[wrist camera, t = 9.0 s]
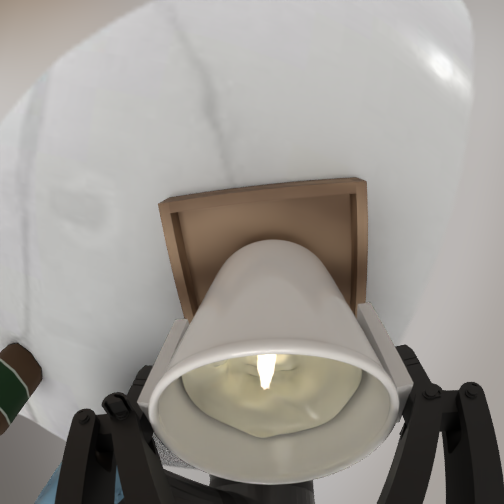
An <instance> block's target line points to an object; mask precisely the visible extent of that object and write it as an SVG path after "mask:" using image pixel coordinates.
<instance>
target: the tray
mask: <svg viewBox="0 0 504 504" xmlns="http://www.w3.org/2000/svg"><path fill="white" fill-rule="evenodd" d="M158 207H159V212H160V217H161V222H162V227H163V232H164V236H165V241H166V246H167V250H168V254H169V259H170V263H171V267H172V272H173V276H174V280H175V284H176V288H177V292H178V296H179V299H180V303H181V307H182V311H183V314H184V318H185V319H188V322H189V325H190V323H191V321H192V319H193V317H194V315H195V313H196V311H197V310H198V308H199V306H200V304H201V302H202V300H203V298H204V296H205V295H206V293H207V291H208V289H209V287H210V285H211V284H212V282H213V280H214V278H215V276H216V275H217V273H218V271H219V270H220V268H221V267H222V265H223V264H224V263H225V261H226V260H227V259H228V258H229V257H230V256H231V255H232V254H233V253H235V252H236V251H237V250H239V249H241V248H242V247H244V246H246V245H249V244H251V243H254V242H258V241H262V240H285V241H290V242H293V243H296V244H299V245H301V246H303V247H305V248H307V249H308V250H310V251H311V252H312V253H314V254H315V255H316V256H317V257H318V258H319V259H320V260H321V261H322V263H323V264H324V265H325V267H326V268H327V270H328V271H329V273H330V274H331V276H332V278H333V279H334V281H335V283H336V284H337V286H338V288H339V289H340V291H341V293H342V294H343V296H344V298H345V299H346V301H347V303H348V305H349V306H350V308H351V310H352V312H353V313H354V315H355V317H356V319H357V307H358V304H362V303H365V300H366V283H367V256H368V209H367V182H366V181H364V180H362V179H359V178H356V177H353V178H336V179H322V180H309V181H297V182H287V183H276V184H267V185H257V186H249V187H240V188H232V189H224V190H217V191H210V192H203V193H196V194H189V195H183V196H176V197H170V198H168V199H166V200H164V201H162V202H160V203H159V204H158Z"/></svg>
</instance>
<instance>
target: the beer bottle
mask: <svg viewBox="0 0 504 504" xmlns="http://www.w3.org/2000/svg"><path fill="white" fill-rule="evenodd" d="M41 380H42V373H41V367H40V366H39V364H38V363H37V361H36V360H35V359H34V357H33V356H32V354H31V353H30V352H29V351H27V350H26V349H25V348H23V347H22V346H21V345H20V344H18V343H16V344H11V345H8V346H7V347H6V348H4V349H3V350H2V351H1V352H0V435H2V434H3V433H4V432H5V431H6V430H7V428H8V427H9V426H10V424H11V423H12V422H13V420H14V419H15V417H16V416H17V414H18V413H19V412H20V410H21V409H22V407H23V406H24V405H25V403H26V402H27V400H28V399H29V398H30V396H31V395H32V394H33V392H34V391H35V390H36V388H37V387H38V385H39V384H40V382H41Z"/></svg>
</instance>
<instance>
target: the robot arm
mask: <svg viewBox="0 0 504 504" xmlns="http://www.w3.org/2000/svg"><path fill="white" fill-rule="evenodd" d="M357 320H358V322H359V324H360V326H361V327H362V329H363V331H364V333H365V335H366V336H367V338H368V340H369V342H370V344H371V346H372V347H373V349H374V351H375V353H376V355H377V357H378V359H379V360H380V362H381V364H382V366H383V368H384V370H385V371H386V372H387V374H388V375H389V376H390V378H391V379H392V381H393V383H394V384H395V387H396V389H397V392H398V396H399V414H398V418H397V421H396V423H397V422H400V419H401V416H402V415H403V418H404V420H405V423H404V425H403V427H402V430H401V432H400V435H401V436H400V439H399V443H398V446H397V449H396V452H395V456H394V459H393V462H392V465H391V468H390V471H389V474H388V476H387V479H386V482H385V484H384V487H383V489H382V492H381V495H380V497H379V500H378V502H377V504H423V501H424V497H425V494H426V490H427V487H428V483H429V479H430V475H431V471H432V467H433V462H434V458H435V453H436V448H437V442H438V437H439V432H441V431H442V437H443V447H444V459H445V476H446V504H504V482H503V474H502V467H501V461H500V455H499V450H498V445H497V440H496V435H495V431H494V427H493V423H492V419H491V415H490V411H489V408H488V404H487V401H486V397H485V394H484V391H483V389H482V387H481V386H480V385H479V384H477V383H475V382H467V383H464V384H463V385H462V386H461V388H460V389H459V390H452V391H446V390H442V388H441V387H439V386H438V385H436V384H433V383H431V381H430V379H429V378H428V376H427V374H426V372H425V371H424V369H423V367H422V365H421V364H420V362H419V360H418V358H417V356H416V355H415V353H414V351H413V350H412V349H411V348H410V347H408V346H407V345H401V346H396V347H395V346H394V344H393V342H392V340H391V339H390V337H389V335H388V333H387V331H386V329H385V328H384V326H383V324H382V322H381V320H380V319H379V317H378V315H377V313H376V312H375V310H374V308H373V306H372V305H371V303H370V302H369V303H362V304H358V307H357ZM188 327H189V322H188V319H176V320H175V322H174V324H173V326H172V328H171V330H170V332H169V334H168V336H167V338H166V340H165V342H164V344H163V346H162V349H161V351H160V353H159V355H158V357H157V359H156V361H155V363H154V366H147V365H145V366H144V367H143V368H142V369H141V370H140V371H139V372H138V374H137V376H136V378H135V380H134V382H133V385H132V386H131V388H130V390H129V392H128V394H127V396H126V395H125V394H123V393H120V392H117V393H112V394H110V395H108V396H107V397H105V398H104V400H103V402H102V407H103V408H104V410H105V411H106V413H107V414H103V415H96V414H95V413H94V411H92V410H91V409H82V410H80V411H78V412H77V413H76V414H75V415H74V417H73V420H72V423H71V427H70V431H69V435H68V438H67V442H66V447H65V451H64V455H63V460H62V462H61V463H60V465H59V466H58V468H57V469H56V470H55V472H54V473H53V475H52V476H51V479H50V480H49V481H48V483H47V485H46V486H45V487H44V488H43V490H42V491H41V493H40V495H39V496H38V498H37V500H36V501H35V503H34V504H315V502H314V490H313V480H310V481H305V482H299V483H291V484H274V485H268V484H251V483H243V482H237V481H232V480H228V479H224V478H220V477H217V476H214V475H211V474H209V475H210V485H209V486H207V485H203V484H201V483H198V482H195V481H193V480H190V479H187V478H184V477H182V476H180V475H177V474H174V473H172V472H170V471H167V470H165V469H163V467H162V464H161V461H160V457H159V454H158V451H157V448H156V445H155V441H154V440H153V438H152V435H153V432H154V430H153V428H152V426H151V423H150V420H149V413H148V407H149V400H150V397H151V394H152V391H153V389H154V387H155V386H156V384H157V382H158V381H159V380H160V378H161V377H162V376H163V374H164V372H165V371H166V369H167V367H168V365H169V363H170V361H171V359H172V357H173V355H174V353H175V351H176V349H177V348H178V346H179V344H180V342H181V340H182V338H183V336H184V334H185V332H186V330H187V328H188Z"/></svg>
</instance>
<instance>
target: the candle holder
mask: <svg viewBox="0 0 504 504" xmlns="http://www.w3.org/2000/svg"><path fill="white" fill-rule="evenodd" d="M148 413H149V420H150V423H151V426H152V428H153V430H154V432H155V434H156V436H157V437H158V439H159V440H160V441H161V443H162V444H163V445H164V446H165V447H166V448H167V449H168V450H169V451H170V452H172V453H173V454H174V455H175V456H177V457H178V458H179V459H181V460H182V461H184V462H185V463H187V464H189V465H191V466H193V467H195V468H197V469H199V470H201V471H203V472H206V473H208V474H211V475H214V476H217V477H220V478H224V479H228V480H232V481H237V482H243V483H251V484H268V485H274V484H291V483H299V482H305V481H310V480H314V479H318V478H322V477H325V476H328V475H331V474H334V473H337V472H339V471H342V470H344V469H346V468H348V467H350V466H352V465H354V464H356V463H358V462H359V461H361V460H363V459H364V458H365V457H367V456H368V455H370V454H371V453H372V452H373V451H375V450H376V449H377V448H378V447H379V446H380V445H381V444H382V443H383V442H384V441H385V440H386V438H387V437H388V435H389V434H390V433H391V431H392V430H393V428H394V426H395V424H396V421H397V418H398V414H399V396H398V392H397V389H396V387H395V384H394V383H393V381H392V379H391V378H390V376H389V375H388V374H387V372H386V371H385V370H384V368H383V366H382V364H381V362H380V360H379V359H378V357H377V355H376V353H375V351H374V349H373V347H372V346H371V344H370V342H369V340H368V338H367V336H366V335H365V333H364V331H363V329H362V327H361V326H360V324H359V322H358V320H357V319H356V317H355V315H354V313H353V312H352V310H351V308H350V306H349V305H348V303H347V301H346V299H345V298H344V296H343V294H342V293H341V291H340V289H339V288H338V286H337V284H336V283H335V281H334V279H333V278H332V276H331V274H330V273H329V271H328V270H327V268H326V267H325V265H324V264H323V263H322V261H321V260H320V259H319V258H318V257H317V256H316V255H315V254H314V253H312V252H311V251H310V250H308V249H307V248H305V247H303V246H301V245H299V244H296V243H293V242H290V241H285V240H262V241H258V242H254V243H251V244H249V245H246V246H244V247H242V248H241V249H239V250H237V251H236V252H235V253H233V254H232V255H231V256H230V257H229V258H228V259H227V260H226V261H225V263H224V264H223V265H222V267H221V268H220V270H219V271H218V273H217V275H216V276H215V278H214V280H213V282H212V284H211V285H210V287H209V289H208V291H207V293H206V295H205V296H204V298H203V300H202V302H201V304H200V306H199V308H198V310H197V311H196V313H195V315H194V317H193V319H192V321H191V323H190V325H189V327H188V328H187V330H186V332H185V334H184V336H183V338H182V340H181V342H180V344H179V346H178V348H177V349H176V351H175V353H174V355H173V357H172V359H171V361H170V363H169V365H168V367H167V369H166V371H165V372H164V374H163V376H162V377H161V378H160V380H159V381H158V382H157V384H156V386H155V387H154V389H153V391H152V394H151V397H150V400H149V407H148Z"/></svg>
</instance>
